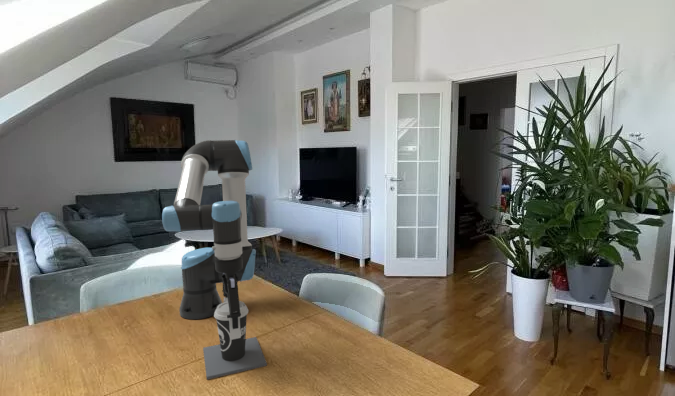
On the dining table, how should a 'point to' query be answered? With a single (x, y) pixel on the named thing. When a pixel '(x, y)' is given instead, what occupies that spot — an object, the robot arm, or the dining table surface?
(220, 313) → the coffee cup
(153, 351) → the dining table surface
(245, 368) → the mat
